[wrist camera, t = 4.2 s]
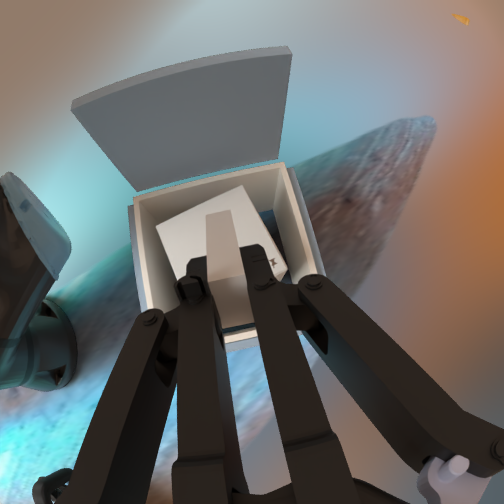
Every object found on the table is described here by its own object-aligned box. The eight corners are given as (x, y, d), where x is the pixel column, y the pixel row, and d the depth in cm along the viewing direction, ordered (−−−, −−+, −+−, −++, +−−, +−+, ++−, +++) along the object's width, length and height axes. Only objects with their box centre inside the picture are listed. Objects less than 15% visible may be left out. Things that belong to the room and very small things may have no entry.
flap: (277, 158, 29) (292, 53, 16) (137, 192, 28) (70, 110, 15) (275, 151, 29) (287, 45, 16) (136, 183, 29) (72, 100, 15)
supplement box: (247, 229, 40) (244, 180, 26) (277, 288, 38) (292, 269, 24) (187, 258, 39) (152, 223, 25) (215, 318, 38) (191, 318, 23)
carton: (314, 323, 37) (339, 324, 26) (181, 353, 36) (151, 366, 25) (282, 203, 41) (292, 160, 29) (158, 232, 40) (125, 199, 29)
